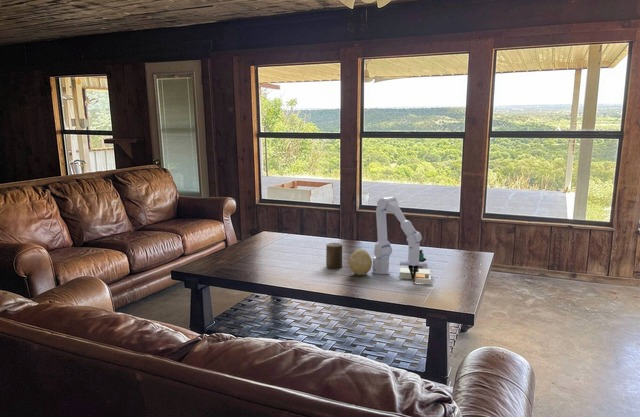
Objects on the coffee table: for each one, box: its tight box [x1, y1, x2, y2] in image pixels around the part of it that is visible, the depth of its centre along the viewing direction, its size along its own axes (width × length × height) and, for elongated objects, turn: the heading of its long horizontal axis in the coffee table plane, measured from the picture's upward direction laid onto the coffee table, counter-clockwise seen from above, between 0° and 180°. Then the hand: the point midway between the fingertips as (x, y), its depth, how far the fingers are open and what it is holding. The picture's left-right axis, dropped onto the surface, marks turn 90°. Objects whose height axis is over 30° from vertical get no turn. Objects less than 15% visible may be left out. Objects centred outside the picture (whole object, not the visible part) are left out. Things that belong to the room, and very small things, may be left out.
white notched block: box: [399, 267, 432, 285], centre depth 253 cm, size 16×16×4 cm
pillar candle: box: [325, 242, 343, 270], centre depth 275 cm, size 10×10×15 cm
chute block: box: [414, 274, 425, 283], centre depth 249 cm, size 5×5×4 cm
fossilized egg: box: [348, 248, 373, 276], centre depth 260 cm, size 13×13×15 cm
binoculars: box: [418, 249, 427, 268], centre depth 277 cm, size 9×11×10 cm
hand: (412, 278), depth 250 cm, fingers closed
